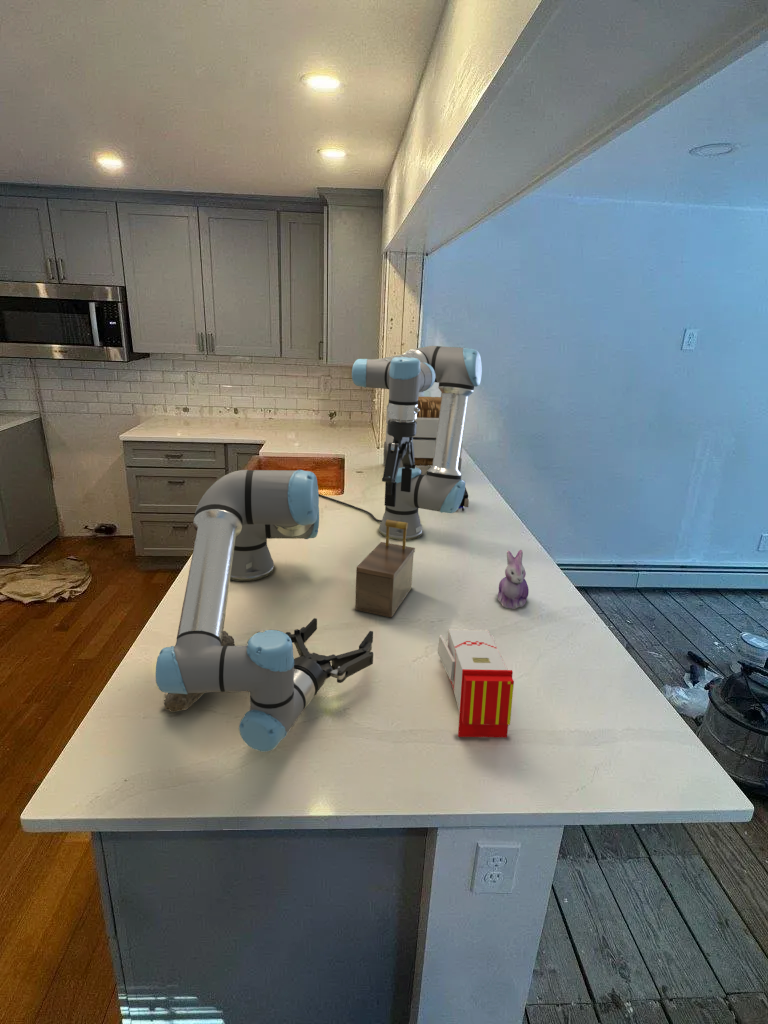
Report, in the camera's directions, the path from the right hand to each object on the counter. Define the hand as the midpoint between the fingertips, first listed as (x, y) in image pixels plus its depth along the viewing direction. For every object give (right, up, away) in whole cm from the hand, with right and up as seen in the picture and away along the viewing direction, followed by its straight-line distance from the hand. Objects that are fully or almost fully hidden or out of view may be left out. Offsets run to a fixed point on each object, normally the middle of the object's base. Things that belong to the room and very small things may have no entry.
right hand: (398, 498), depth 153 cm
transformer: (+13, +15, +122) cm, 124 cm away
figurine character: (+26, -2, +77) cm, 82 cm away
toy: (+14, -41, -34) cm, 55 cm away
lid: (-3, -17, -1) cm, 17 cm away
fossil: (-41, -39, -35) cm, 66 cm away
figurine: (+32, -28, +4) cm, 43 cm away
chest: (-4, -27, +2) cm, 28 cm away
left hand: (-13, -30, -26) cm, 42 cm away
